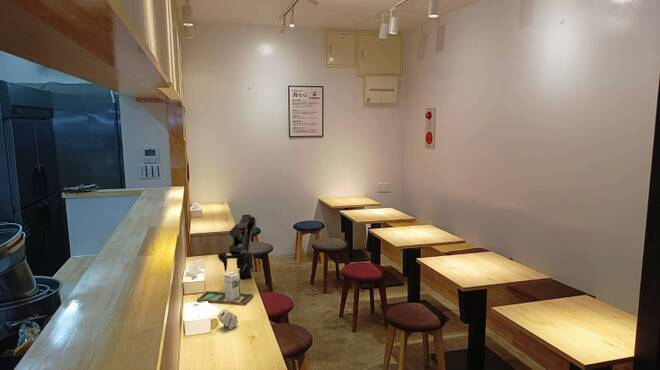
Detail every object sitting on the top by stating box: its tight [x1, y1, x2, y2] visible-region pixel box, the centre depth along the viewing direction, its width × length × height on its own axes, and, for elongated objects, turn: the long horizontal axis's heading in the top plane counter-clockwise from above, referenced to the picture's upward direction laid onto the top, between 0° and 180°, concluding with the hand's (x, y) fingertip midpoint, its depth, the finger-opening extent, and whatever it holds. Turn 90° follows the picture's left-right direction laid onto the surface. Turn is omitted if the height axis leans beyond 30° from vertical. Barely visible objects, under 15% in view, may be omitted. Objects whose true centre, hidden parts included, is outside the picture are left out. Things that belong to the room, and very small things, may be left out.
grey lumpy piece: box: [217, 308, 239, 330], centre depth 200 cm, size 6×7×10 cm
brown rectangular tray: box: [196, 290, 255, 306], centre depth 233 cm, size 27×12×2 cm, turn 79°
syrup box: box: [223, 271, 242, 301], centre depth 231 cm, size 6×6×14 cm
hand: (233, 271), depth 238 cm, fingers open, 9 cm apart
